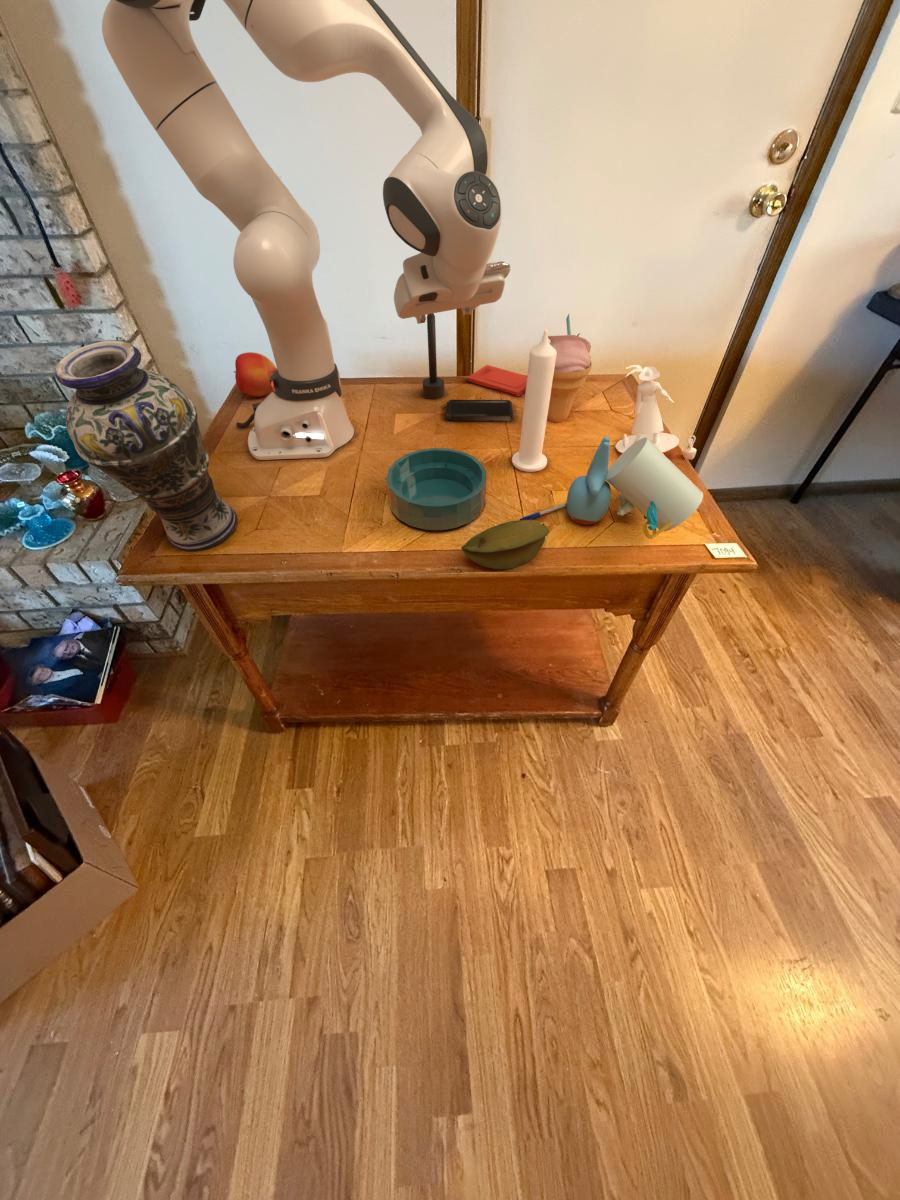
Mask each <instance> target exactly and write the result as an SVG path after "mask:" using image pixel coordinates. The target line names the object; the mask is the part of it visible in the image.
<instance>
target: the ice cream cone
mask: <svg viewBox="0 0 900 1200" xmlns="http://www.w3.org/2000/svg"><path fill="white" fill-rule="evenodd" d="M570 319H571V318H570V313H568V314H567V316H566V319H565V323H566V333H567V334H564V335H560V334H559V335H548V340H549V344H550V345H551V346H552V347H553V348H554V349H555V350H556V352H557V354H556V361H555V368H554V374H553V381H552V388H551V395H550V402H549V408H548V415H547V421H549V422H553V423H562V422H565V421H566V420H567V418H569V415H570V413H571V410H572V406H573V404H574V401H575V396H576V394H577V392H578V390H579V389H580V388H581V387H582V386H584V384H585V383H586V380H587V376H588V375H589V374H590V373H591V371H592V367H593V366H592V365H593V364H592V359H591V354H590V353H591V348H592V347H591V343H590V341H588V340H587V339H586V338H584V337H582V336H580V335H581V333H578V334H577V335H575V334H572V332H571V331H572V330H571V320H570Z"/></svg>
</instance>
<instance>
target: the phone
mask: <svg viewBox="0 0 900 1200" xmlns="http://www.w3.org/2000/svg"><path fill="white" fill-rule="evenodd" d="M445 417H446V418H445V419H446V420H447V421H450V422H511V421H513V419H514V411H513V402H512V401H511V400H509V399H448V400H447V402H446V412H445Z"/></svg>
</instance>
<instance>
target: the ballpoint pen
mask: <svg viewBox="0 0 900 1200" xmlns="http://www.w3.org/2000/svg"><path fill="white" fill-rule="evenodd" d="M563 508H567V502H566V503H562V504H558V505H557V506H554V507H551V508H548V509H545V510H541V511H537V512H535V513H532V514H528V515H526V516H522V517H521V518H520V519H519V520H536V518H539V517H540V516H544V515H546V514H549V513H553V512H555V511H558V510H561V509H563Z"/></svg>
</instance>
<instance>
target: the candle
mask: <svg viewBox="0 0 900 1200" xmlns="http://www.w3.org/2000/svg"><path fill="white" fill-rule="evenodd" d="M548 336H549V333H548V330H547V329H545V330H544V331H543V334H542V336H541V339H540V341H539V343H537V344H536V345H534V346H533V347H532V348H531V349H530V350H529V358H528V365H527V366H528V367H527V375H526V376H527V384H526V391H525V392H524V393H525V395H524V403H523V412H522V421H521V431H520V440H519V450H518V451H516V452H515V453H513V455H512V456H511V464H512V466H513V467H514V468H515V469H517V470H518V471H522V472H526V473H537V472H539V471H543V470H544V469H545V468H546V466H547V465H548V459H547V457H546V455H545V454H544V453H543V449H544V441H545V434H546V430H547V429H546V428H547V421H548V419H547V415H548V408H549V402H550V395H551V388H552V381H553V374H554V368H555V361H556V354H557V352H556V350H555V349H554V348H553V347H552V346H551V345H550V340H549V339H548Z"/></svg>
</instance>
